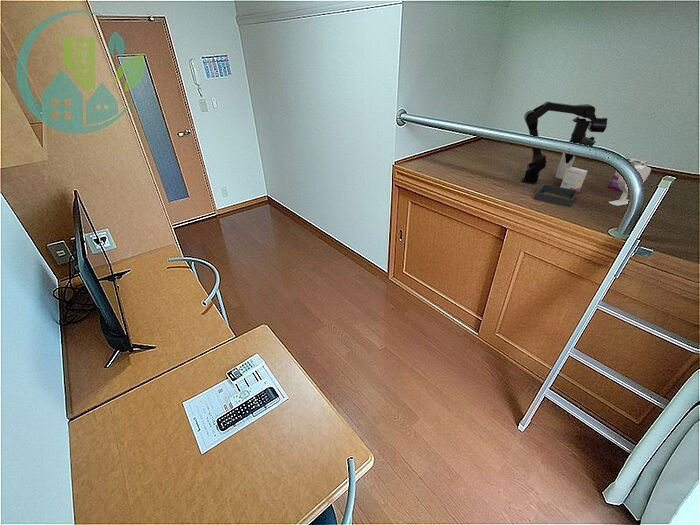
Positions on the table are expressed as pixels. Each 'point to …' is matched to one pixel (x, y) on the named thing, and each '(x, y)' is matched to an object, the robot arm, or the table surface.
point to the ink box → (573, 178)
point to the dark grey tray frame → (553, 198)
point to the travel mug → (563, 167)
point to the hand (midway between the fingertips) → (568, 161)
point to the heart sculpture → (622, 184)
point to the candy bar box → (616, 176)
